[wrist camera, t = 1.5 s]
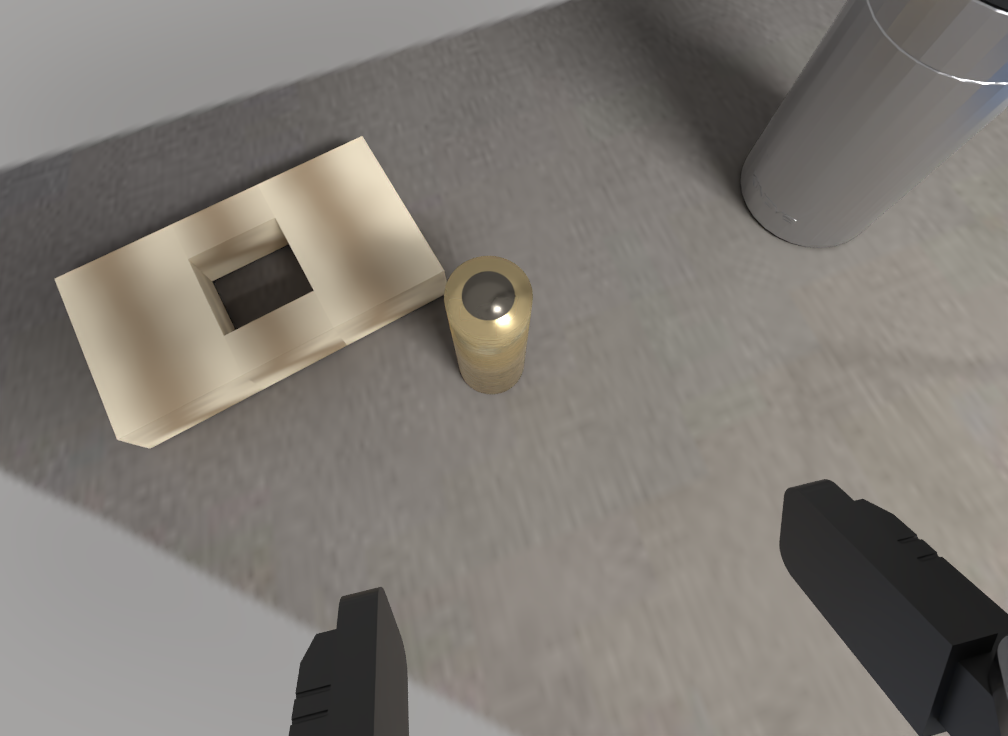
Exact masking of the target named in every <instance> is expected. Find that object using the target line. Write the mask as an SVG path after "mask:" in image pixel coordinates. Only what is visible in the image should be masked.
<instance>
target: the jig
mask: <svg viewBox="0 0 1008 736" xmlns="http://www.w3.org/2000/svg"><path fill="white" fill-rule="evenodd" d="M288 244H289V245H290V247H291V249H292V250H293V252H294V254H295V256H296V258H297V260H298V262H299V264H300V265H301V267H302V269H303V271H304V273H305V275H306V277H307V279H308V281H309V282H310V284H311V286H312V288H313V290H314V291H312V292H310V293H308V294H306V295H304V296H302V297H300V298H298V299H296V300H294V301H292V302H290V303H288V304H286V305H284V306H282V307H280V308H278V309H276V310H274V311H272V312H270V313H268V314H266V315H264V316H262V317H260V318H258V319H256V320H254V321H252V322H250V323H248V324H246V325H244V326H242V327H240V328H238V329H236V330H235V328H234V326H233V324H232V322H231V320H230V318H229V316H228V314H227V311H226V309H225V307H224V305H223V303H222V301H221V299H220V297H219V295H218V293H217V291H216V288H215V286H214V284H213V282H212V281H214V280H216V279H218V278H220V277H222V276H224V275H226V274H228V273H230V272H233V271H235V270H237V269H239V268H241V267H243V266H245V265H247V264H249V263H251V262H253V261H255V260H257V259H259V258H261V257H263V256H265V255H268V254H270V253H272V252H274V251H276V250H278V249H280V248H282V247H284V246H286V245H288ZM55 282H56V284H57V287H58V289H59V292H60V294H61V297H62V299H63V302H64V305H65V307H66V310H67V312H68V315H69V317H70V320H71V322H72V325H73V328H74V330H75V333H76V335H77V338H78V340H79V343H80V345H81V348H82V351H83V353H84V356H85V358H86V361H87V363H88V366H89V369H90V371H91V374H92V376H93V379H94V381H95V384H96V386H97V389H98V392H99V394H100V397H101V399H102V402H103V404H104V407H105V409H106V412H107V415H108V417H109V420H110V422H111V425H112V427H113V430H114V433H115V435H116V438H117V440H120V441H124V442H127V443H131V444H135V445H138V446H142V447H146V448H149V449H150V448H152V447H154V446H156V445H158V444H160V443H162V442H164V441H166V440H168V439H169V438H171V437H173V436H175V435H177V434H179V433H181V432H183V431H185V430H187V429H189V428H190V427H192V426H194V425H196V424H198V423H200V422H202V421H204V420H206V419H208V418H209V417H211V416H213V415H215V414H217V413H219V412H221V411H223V410H225V409H227V408H229V407H230V406H232V405H234V404H236V403H238V402H240V401H242V400H244V399H246V398H248V397H250V396H251V395H253V394H255V393H257V392H259V391H261V390H263V389H265V388H267V387H269V386H271V385H272V384H274V383H276V382H278V381H280V380H282V379H284V378H286V377H288V376H290V375H292V374H293V373H295V372H297V371H299V370H301V369H303V368H305V367H307V366H309V365H311V364H313V363H314V362H316V361H318V360H320V359H322V358H324V357H326V356H328V355H330V354H332V353H334V352H335V351H337V350H339V349H341V348H343V347H345V346H347V345H349V344H351V343H353V342H355V341H356V340H358V339H360V338H362V337H364V336H366V335H368V334H370V333H372V332H374V331H376V330H377V329H379V328H381V327H383V326H385V325H387V324H389V323H391V322H393V321H395V320H397V319H398V318H400V317H402V316H404V315H406V314H408V313H410V312H412V311H414V310H416V309H417V308H419V307H421V306H423V305H425V304H427V303H429V302H431V301H433V300H435V299H437V298H438V297H440V296H442V295H444V290H445V286H446V283H447V281H446V276H445V271H444V269H443V268H442V266H441V264H440V263H439V261H438V259H437V258H436V256H435V255H434V253H433V251H432V250H431V248H430V246H429V245H428V243H427V241H426V240H425V238H424V237H423V235H422V233H421V232H420V230H419V228H418V227H417V225H416V223H415V222H414V220H413V219H412V217H411V215H410V214H409V212H408V210H407V209H406V207H405V205H404V204H403V202H402V201H401V199H400V197H399V196H398V194H397V192H396V191H395V189H394V187H393V186H392V184H391V183H390V181H389V179H388V178H387V176H386V174H385V173H384V171H383V169H382V168H381V166H380V164H379V163H378V161H377V160H376V158H375V156H374V155H373V153H372V151H371V150H370V148H369V146H368V145H367V143H366V142H365V140H364V138H363V137H362V136H361V137H359V138H357V139H355V140H353V141H350V142H348V143H346V144H344V145H342V146H340V147H337V148H335V149H333V150H331V151H329V152H327V153H324V154H322V155H320V156H318V157H316V158H314V159H312V160H309V161H307V162H305V163H303V164H301V165H299V166H296V167H294V168H292V169H290V170H288V171H286V172H284V173H281V174H279V175H277V176H275V177H273V178H271V179H268V180H266V181H264V182H262V183H260V184H258V185H256V186H253V187H251V188H249V189H247V190H245V191H243V192H240V193H238V194H236V195H234V196H232V197H230V198H228V199H225V200H223V201H221V202H219V203H217V204H215V205H212V206H210V207H208V208H206V209H204V210H202V211H199V212H197V213H195V214H193V215H191V216H189V217H187V218H184V219H182V220H180V221H178V222H176V223H174V224H171V225H169V226H167V227H165V228H163V229H161V230H159V231H156V232H154V233H152V234H150V235H148V236H146V237H143V238H141V239H139V240H137V241H135V242H133V243H131V244H128V245H126V246H124V247H122V248H120V249H118V250H115V251H113V252H111V253H109V254H107V255H105V256H103V257H100V258H98V259H96V260H94V261H92V262H90V263H87V264H85V265H83V266H81V267H79V268H77V269H74V270H72V271H70V272H68V273H66V274H64V275H62V276H59V277H57V278H55Z"/></svg>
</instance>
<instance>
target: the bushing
mask: <svg viewBox="0 0 1008 736" xmlns="http://www.w3.org/2000/svg"><path fill="white" fill-rule="evenodd" d="M532 300H533V294H532V287H531V284H530V281H529V279H528V278H527V276H526V274H525V273H524V272H523V271H522V270H521V269H520V268H519V267H518V266H517V265H516V264H514V263H513V262H511V261H509V260H507V259H504V258H501V257H496V256H481V257H476V258H473V259H470V260H468V261H466V262H464V263H463V264H461V265H460V266H459V267H457V269H456V270H455V271H454V272H453V273H452V274H451V276H450V277H449V279H448V281H447V283H446V286H445V290H444V303H445V308H446V312H447V316H448V321H449V325H450V329H451V334H452V338H453V342H454V347H455V351H456V355H457V360H458V364H459V368H460V372H461V375H462V377H463V379H464V380H465V382H466V383H467V384H468V385H469V386H470V387H471V388H473V389H474V390H476V391H478V392H481V393H485V394H498V393H502V392H505V391H507V390H509V389H510V388H512V387H513V386H514V385H515V384H516V383H517V382H518V380H519V379H520V377H521V375H522V372H523V368H524V361H525V353H526V346H527V338H528V331H529V323H530V315H531V308H532Z"/></svg>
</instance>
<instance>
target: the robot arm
mask: <svg viewBox="0 0 1008 736" xmlns="http://www.w3.org/2000/svg"><path fill="white" fill-rule="evenodd" d="M1007 107H1008V0H847V1H846V3H845V5H844V6H843V8H842V9H841V11H840V12H839V14H838V16H837V17H836V19H835V20H834V22H833V23H832V25H831V26H830V28H829V30H828V31H827V33H826V34H825V36H824V37H823V39H822V41H821V42H820V44H819V45H818V47H817V48H816V50H815V52H814V53H813V55H812V56H811V58H810V59H809V61H808V63H807V64H806V66H805V67H804V69H803V70H802V72H801V73H800V75H799V77H798V78H797V80H796V81H795V83H794V84H793V86H792V88H791V89H790V91H789V92H788V94H787V95H786V97H785V99H784V100H783V102H782V103H781V105H780V106H779V108H778V109H777V111H776V113H775V114H774V115H773V117H772V119H771V120H770V122H769V123H768V125H767V126H766V128H765V130H764V131H763V133H762V134H761V136H760V137H759V139H758V141H757V142H756V144H755V145H754V147H753V148H752V150H751V152H750V153H749V155H748V156H747V158H746V160H745V162H744V165H743V168H742V172H741V188H742V194H743V197H744V200H745V202H746V205H747V207H748V208H749V210H750V211H751V213H752V214H753V216H754V217H755V218H756V219H757V220H758V221H759V222H760V223H761V224H762V226H763V227H764V228H766V229H767V230H769V231H770V232H771V233H773V234H774V235H776V236H777V237H779V238H782V239H784V240H786V241H788V242H790V243H794V244H797V245H801V246H805V247H816V248H823V247H832V246H837V245H840V244H843V243H846V242H848V241H850V240H851V239H853V238H855V237H856V236H858V235H859V234H860V233H862V232H863V231H864V230H865V229H866V228H867V227H869V226H870V225H871V224H872V223H873V222H874V221H875V220H877V219H878V218H879V217H880V216H881V215H882V214H884V213H885V212H886V211H887V210H888V209H889V208H891V207H892V206H893V205H894V204H895V203H897V202H898V201H899V200H900V199H901V198H903V197H904V196H905V195H906V194H907V193H908V192H909V191H911V190H912V189H913V188H914V187H915V186H916V185H918V184H919V183H920V182H921V181H922V180H923V179H925V178H926V177H927V176H928V175H929V174H930V173H932V172H933V171H934V170H935V169H936V168H937V167H939V166H940V165H941V164H942V163H943V162H944V161H945V160H947V159H948V158H949V157H950V156H951V155H952V154H954V153H955V152H956V151H957V150H958V149H959V148H961V147H962V146H963V145H964V144H965V143H966V142H968V141H969V140H970V139H971V138H972V137H973V136H975V135H976V134H977V133H978V132H979V131H980V130H981V129H983V128H984V127H985V126H986V125H987V124H988V123H990V122H991V121H992V120H993V119H994V118H995V117H997V116H998V115H999V114H1000V113H1001V112H1002V111H1004V110H1005V109H1006V108H1007ZM779 545H780V552H781V556H782V559H783V562H784V564H785V566H786V568H787V570H788V572H789V573H790V575H791V576H792V577H793V579H794V580H795V581H796V582H797V584H798V585H799V586H800V587H801V589H802V590H803V591H804V592H805V594H806V595H807V596H808V597H809V599H810V600H811V601H812V602H813V604H814V605H815V606H816V608H817V609H818V610H819V611H820V613H821V614H822V615H823V616H824V618H825V619H826V620H827V621H828V623H829V624H830V625H831V626H832V628H833V629H834V630H835V631H836V633H837V634H838V635H839V636H840V638H841V639H842V640H843V641H844V643H845V644H846V645H847V646H848V648H849V649H850V650H851V651H852V653H853V654H854V655H855V656H856V658H857V659H858V660H859V661H860V663H861V664H862V665H863V666H864V668H865V669H866V670H867V671H868V673H869V674H870V675H871V676H872V678H873V679H874V680H875V681H876V683H877V684H878V685H879V686H880V688H881V689H882V690H883V691H884V693H885V694H886V695H887V696H888V698H889V699H890V700H891V701H892V703H893V704H894V705H895V706H896V708H897V709H898V710H899V711H900V713H901V714H902V715H903V716H904V718H905V719H906V720H907V721H908V723H909V724H910V725H911V726H912V728H913V729H914V730H915V731H916V733H917V734H918V735H919V736H932V735H936V734H939V733H943V732H946V731H947V732H948V733H949V734H950V736H1008V614H1007V613H1006V612H1005V611H1004V610H1003V609H1001V608H1000V607H999V606H998V605H997V604H996V603H995V602H993V601H992V600H991V599H990V598H989V597H988V596H987V595H985V594H984V593H983V592H982V591H981V590H980V589H978V588H977V587H976V586H975V585H974V584H973V583H972V582H970V581H969V580H968V579H967V578H966V577H965V576H964V575H962V574H961V573H960V572H959V571H958V570H957V569H956V568H954V567H953V566H952V565H951V564H950V563H949V562H947V561H946V560H945V559H944V558H943V557H939V556H938V555H937V552H936V551H935V550H934V549H933V548H931V547H930V546H929V545H928V544H927V543H926V542H925V541H923V540H922V539H921V540H919V539H918V537H917V534H915V533H914V532H913V531H912V530H911V529H910V528H908V527H907V526H906V525H905V524H904V523H903V522H902V521H900V520H899V519H898V518H897V517H896V516H895V515H894V514H892V513H890V512H888V511H886V510H884V509H882V508H880V507H878V506H876V505H874V504H872V503H870V502H868V501H866V500H864V499H860V500H856V501H854V500H853V499H852V498H851V497H849V496H848V495H847V494H846V493H845V492H844V491H843V490H842V489H841V488H840V487H839V486H837V485H836V484H835V483H834V482H832V481H830V480H827V479H824V480H819V481H815V482H811V483H807V484H803V485H799V486H795V487H791V488H788V489H787V490H786V492H785V494H784V502H783V512H782V522H781V532H780V544H779ZM289 736H409V723H408V677H407V663H406V655H405V650H404V645H403V641H402V638H401V635H400V632H399V629H398V627H397V624H396V621H395V618H394V616H393V613H392V610H391V607H390V605H389V602H388V599H387V596H386V594H385V591H384V589H383V588H382V587H378V588H374V589H370V590H366V591H362V592H358V593H354V594H350V595H346V596H342V597H341V599H340V602H339V610H338V619H337V629H335V630H331V631H327V632H323V633H319V634H316V635H315V637H314V639H313V641H312V643H311V645H310V647H309V648H308V650H307V652H306V654H305V656H304V657H303V660H302V661H301V663H300V669H299V675H298V682H297V688H296V699H295V701H294V706H293V713H292V725H291V726H290V731H289Z"/></svg>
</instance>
